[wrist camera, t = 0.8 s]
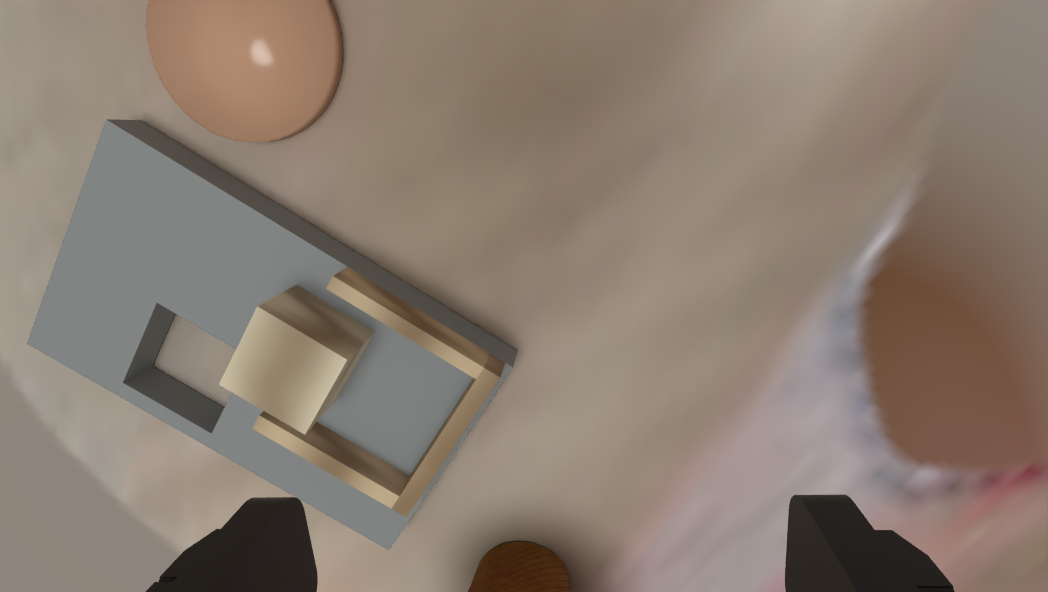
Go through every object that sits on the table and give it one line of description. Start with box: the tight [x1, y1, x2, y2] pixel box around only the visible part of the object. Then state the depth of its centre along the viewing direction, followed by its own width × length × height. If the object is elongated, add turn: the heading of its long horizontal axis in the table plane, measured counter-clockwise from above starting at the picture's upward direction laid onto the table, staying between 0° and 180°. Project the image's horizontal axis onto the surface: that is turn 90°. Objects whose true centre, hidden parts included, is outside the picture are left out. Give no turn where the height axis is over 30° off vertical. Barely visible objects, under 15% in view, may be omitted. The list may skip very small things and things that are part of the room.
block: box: [219, 285, 375, 435], centre depth 30 cm, size 5×5×4 cm
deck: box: [27, 120, 517, 550], centre depth 34 cm, size 25×15×2 cm, turn 58°
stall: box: [252, 267, 505, 517], centre depth 32 cm, size 10×10×2 cm
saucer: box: [146, 0, 343, 142], centre depth 30 cm, size 10×10×1 cm
